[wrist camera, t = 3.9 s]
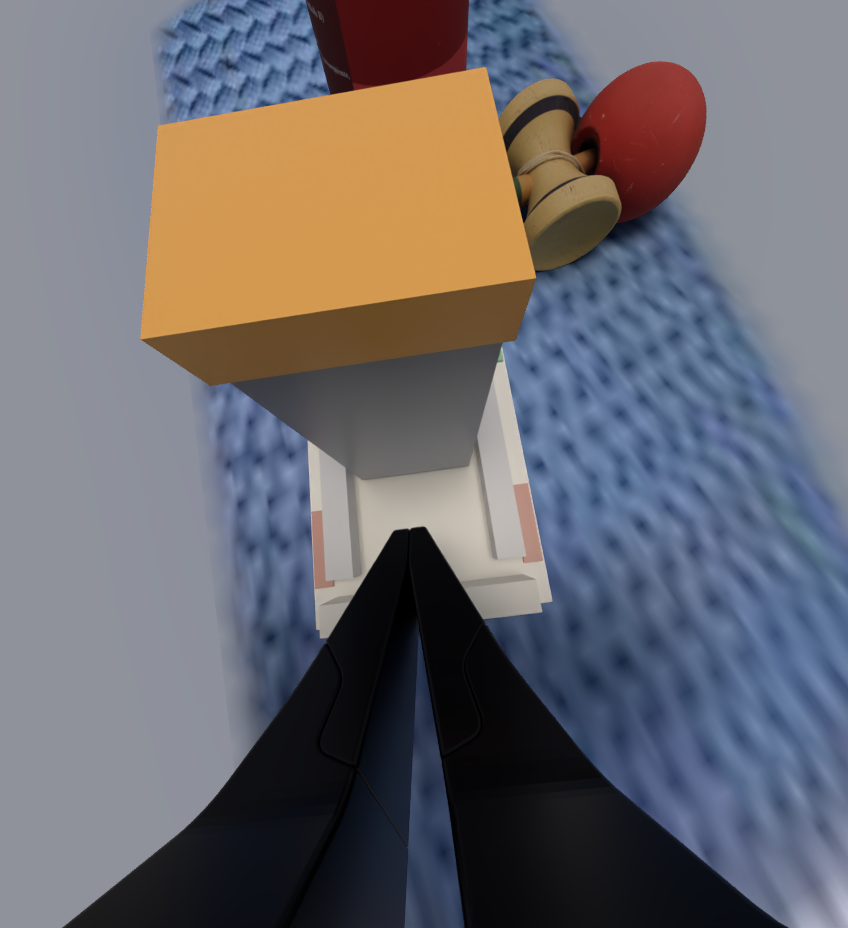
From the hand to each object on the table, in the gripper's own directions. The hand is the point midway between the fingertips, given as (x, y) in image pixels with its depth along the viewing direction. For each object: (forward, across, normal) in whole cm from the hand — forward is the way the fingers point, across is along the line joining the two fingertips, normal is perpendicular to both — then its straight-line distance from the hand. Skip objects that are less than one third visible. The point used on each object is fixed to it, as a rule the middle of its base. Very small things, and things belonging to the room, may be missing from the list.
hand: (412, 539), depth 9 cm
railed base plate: (+9, 0, +2) cm, 9 cm away
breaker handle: (+6, 0, 0) cm, 6 cm away
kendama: (+18, -7, -6) cm, 20 cm away
